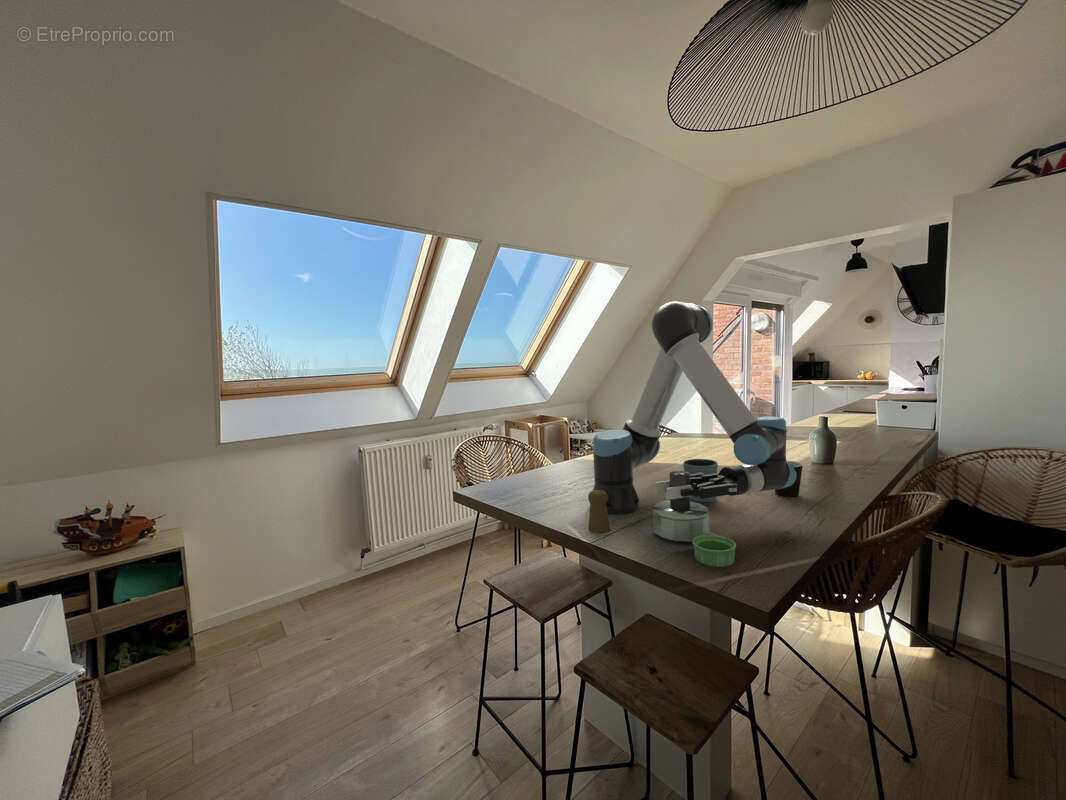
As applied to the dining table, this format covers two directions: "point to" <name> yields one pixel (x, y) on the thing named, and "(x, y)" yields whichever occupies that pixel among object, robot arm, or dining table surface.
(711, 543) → the ramekin
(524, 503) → the dining table surface
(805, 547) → the dining table surface
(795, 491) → the coffee mug
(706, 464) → the teal cup
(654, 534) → the mat
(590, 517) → the cork
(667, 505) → the cover
